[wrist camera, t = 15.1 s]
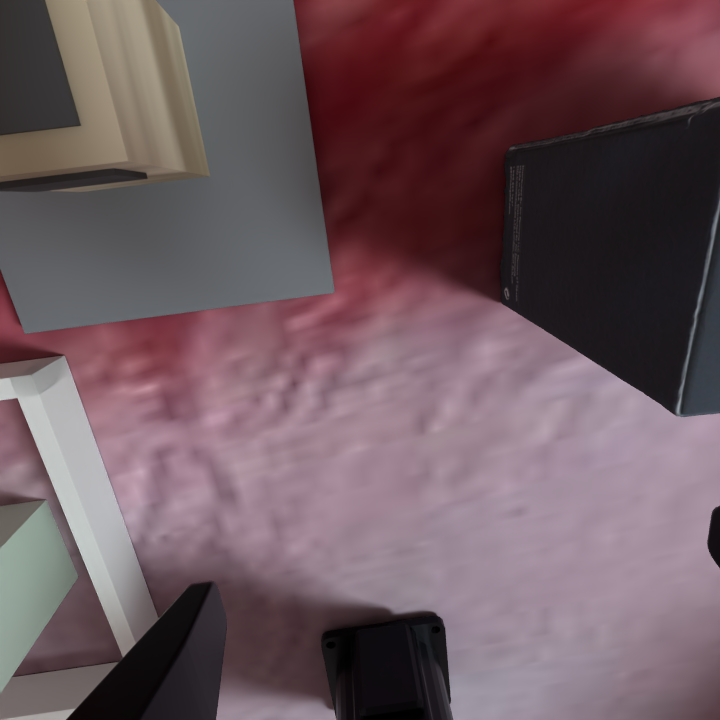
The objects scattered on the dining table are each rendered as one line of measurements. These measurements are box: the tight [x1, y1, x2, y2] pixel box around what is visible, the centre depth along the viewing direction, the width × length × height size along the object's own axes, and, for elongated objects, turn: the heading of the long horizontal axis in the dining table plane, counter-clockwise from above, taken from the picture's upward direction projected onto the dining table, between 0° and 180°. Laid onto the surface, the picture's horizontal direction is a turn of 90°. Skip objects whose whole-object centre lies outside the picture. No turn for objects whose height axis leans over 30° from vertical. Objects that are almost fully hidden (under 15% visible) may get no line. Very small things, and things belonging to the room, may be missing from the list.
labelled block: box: [0, 0, 210, 192], centre depth 12 cm, size 4×5×7 cm
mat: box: [0, 0, 334, 334], centre depth 16 cm, size 14×12×1 cm
